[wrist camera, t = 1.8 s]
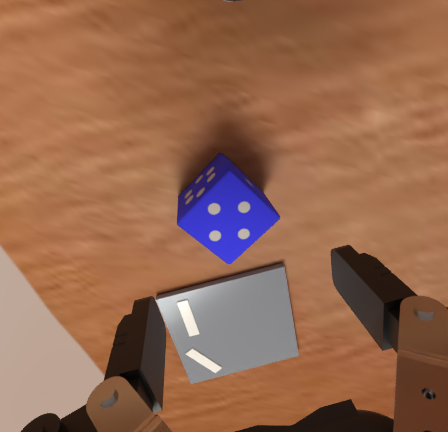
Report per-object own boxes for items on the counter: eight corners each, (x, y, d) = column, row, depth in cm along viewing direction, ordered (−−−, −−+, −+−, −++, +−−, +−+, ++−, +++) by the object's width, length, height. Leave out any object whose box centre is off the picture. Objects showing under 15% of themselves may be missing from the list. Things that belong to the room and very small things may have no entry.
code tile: (282, 263, 27) (284, 267, 27) (297, 351, 33) (299, 356, 32) (156, 295, 27) (155, 300, 27) (191, 378, 32) (191, 385, 32)
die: (263, 192, 24) (281, 218, 20) (221, 233, 25) (229, 266, 21) (220, 151, 22) (229, 168, 18) (177, 196, 24) (175, 224, 19)
